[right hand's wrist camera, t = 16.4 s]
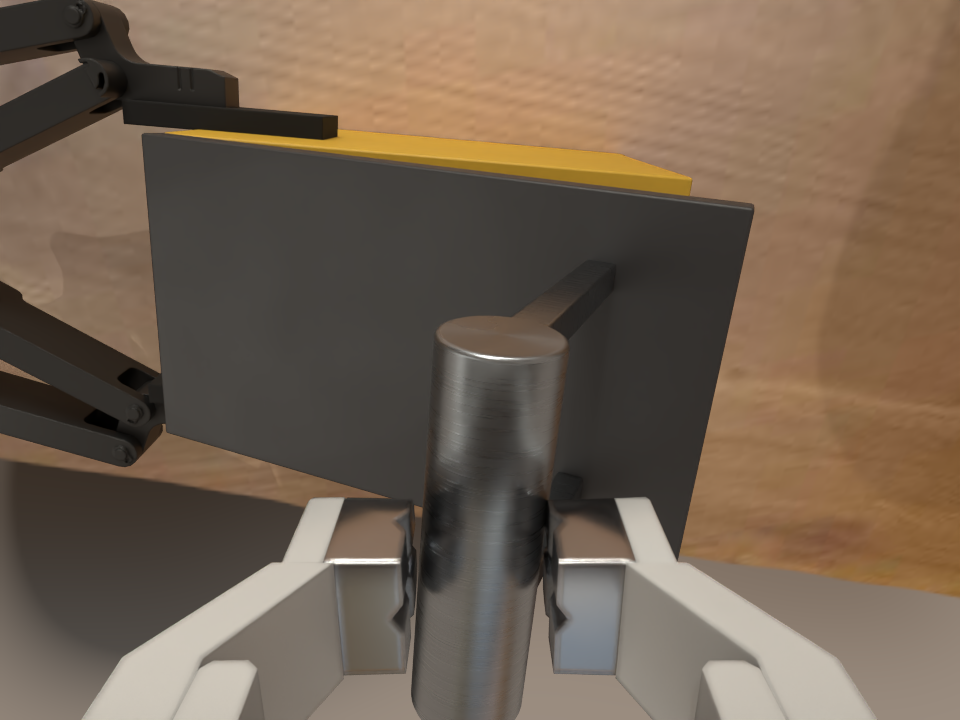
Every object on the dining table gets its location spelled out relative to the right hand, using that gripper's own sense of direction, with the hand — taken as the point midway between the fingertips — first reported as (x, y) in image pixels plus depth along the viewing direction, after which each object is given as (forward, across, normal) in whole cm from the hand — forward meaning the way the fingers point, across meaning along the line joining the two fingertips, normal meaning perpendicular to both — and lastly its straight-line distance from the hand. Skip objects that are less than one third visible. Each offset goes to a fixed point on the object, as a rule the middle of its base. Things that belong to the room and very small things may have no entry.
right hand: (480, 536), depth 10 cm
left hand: (+16, -6, 0) cm, 17 cm away
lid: (+9, -2, 0) cm, 10 cm away
